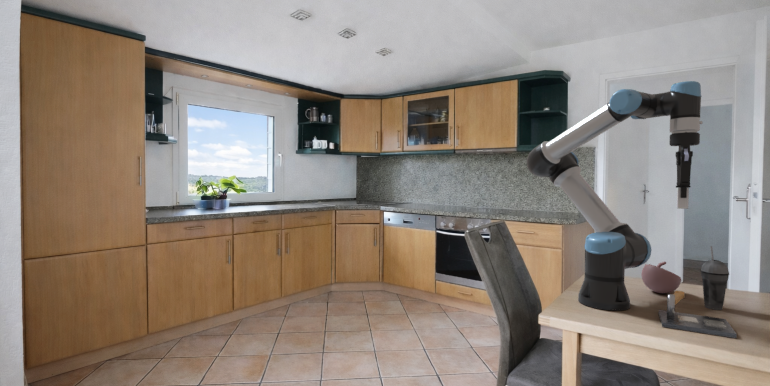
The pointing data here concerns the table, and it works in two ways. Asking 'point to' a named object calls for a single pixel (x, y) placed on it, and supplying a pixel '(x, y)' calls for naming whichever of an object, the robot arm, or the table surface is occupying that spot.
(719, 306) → the beverage cup
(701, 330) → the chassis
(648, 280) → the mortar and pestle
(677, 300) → the wooden lever handle
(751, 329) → the table surface
